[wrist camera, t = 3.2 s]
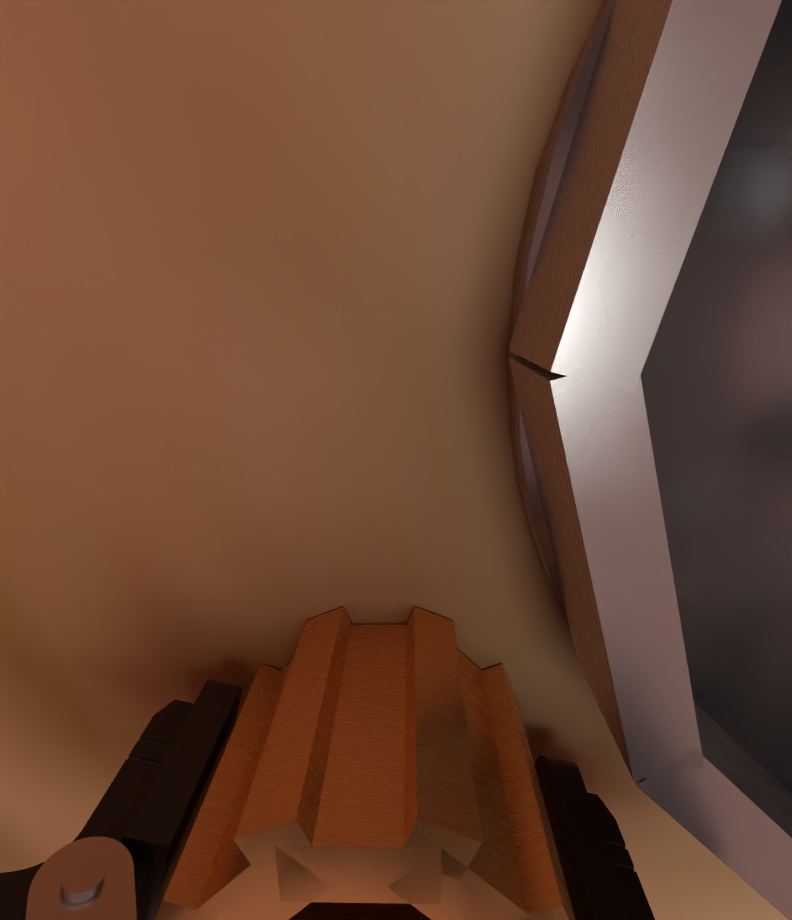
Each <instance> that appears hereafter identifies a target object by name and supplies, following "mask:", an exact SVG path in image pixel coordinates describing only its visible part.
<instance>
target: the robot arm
mask: <svg viewBox="0 0 792 920" xmlns="http://www.w3.org/2000/svg"><path fill="white" fill-rule="evenodd" d="M241 692H242V687H240V686H236V685H231V684H227V683H222V682H218V681H213V680H207V682H206V683H205V685H204V687H203V688H202V690H201V692H200V694H199V696H198V698H197V700H196V701H195V703H194V704H193V703H188V702H184V701H179V700H174V701H172V702H171V703H170V704H168V705H167V706H166V707H164V708H163V709H162V710H160V711H159V712H158V713H156V714H155V715H154V716H153V718H152V719H151V721H150V722H149V724H148V726H147V727H146V729H145V730H144V732H143V734H142V735H141V737H140V740H139V741H138V742H137V743H136V745H135V746H134V748H133V750H132V751H131V753H130V754H129V757H128V759H127V760H126V761H125V762H124V764H123V766H122V767H121V769H120V770H119V772H118V774H117V775H116V777H115V778H114V780H113V782H112V783H111V785H110V786H109V788H108V790H107V791H106V793H105V795H104V796H103V798H102V799H101V801H100V803H99V804H98V806H97V807H96V809H95V811H94V812H93V814H92V815H91V817H90V819H89V820H88V822H87V823H86V825H85V827H84V828H83V830H82V831H81V832H80V834H79V835H78V836H77V838H76V839H75V840H74V841H73V842H72V843H70V844H68V845H66V846H64V847H63V848H61V849H59V850H58V851H57V852H55V853H54V854H53V855H51V856H50V857H49V858H48V859H47V860H46V861H45V862H43V863H41V864H38V865H36V866H34V867H30V868H27V869H24V870H19V871H13V872H6V873H0V920H155V919H156V917H157V914H158V911H159V909H160V906H161V903H162V901H163V898H164V896H165V893H166V891H167V888H168V886H169V884H170V881H171V879H172V876H173V874H174V871H175V869H176V867H177V864H178V862H179V859H180V857H181V855H182V852H183V850H184V847H185V845H186V843H187V840H188V838H189V835H190V833H191V830H192V828H193V826H194V823H195V821H196V818H197V816H198V814H199V811H200V809H201V806H202V804H203V801H204V799H205V797H206V794H207V792H208V789H209V787H210V785H211V782H212V780H213V777H214V775H215V772H216V770H217V768H218V765H219V763H220V760H221V758H222V756H223V753H224V751H225V748H226V746H227V744H228V741H229V739H230V736H231V734H232V731H233V729H234V727H235V723H236V718H237V713H238V708H239V703H240V698H241ZM534 765H535V769H536V773H537V776H538V780H539V784H540V788H541V791H542V795H543V799H544V803H545V806H546V810H547V814H548V818H549V822H550V825H551V829H552V833H553V837H554V840H555V844H556V848H557V852H558V855H559V859H560V863H561V867H562V870H563V874H564V878H565V882H566V885H567V889H568V893H569V897H570V901H571V904H572V908H573V912H574V916H575V919H576V920H655V918H654V916H653V913H652V911H651V908H650V906H649V903H648V901H647V898H646V896H645V893H644V890H643V888H642V885H641V883H640V880H639V878H638V875H637V873H636V872H634V865H633V863H632V860H631V857H630V855H629V852H628V850H626V849H625V842H624V840H623V837H622V835H621V832H620V830H619V827H618V824H617V822H616V819H615V818H614V817H613V815H612V814H611V813H610V811H609V810H608V808H607V807H606V806H605V804H604V803H603V802H602V800H601V799H600V798H599V796H598V795H595V794H591V793H587V791H586V788H585V785H584V782H583V779H582V777H581V774H580V771H579V769H578V767H577V765H576V764H575V763H573V762H568V761H564V760H559V759H555V758H550V757H546V756H539V757H538V758H537V760H536V762H535V764H534Z"/></svg>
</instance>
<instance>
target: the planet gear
mask: <svg viewBox="0 0 792 920" xmlns="http://www.w3.org/2000/svg"><path fill="white" fill-rule="evenodd" d="M155 920H576V919H575V916H574V912H573V908H572V904H571V901H570V897H569V893H568V889H567V885H566V882H565V878H564V874H563V870H562V867H561V863H560V859H559V855H558V852H557V848H556V844H555V840H554V837H553V833H552V829H551V825H550V822H549V818H548V814H547V810H546V806H545V803H544V799H543V795H542V791H541V788H540V784H539V780H538V776H537V773H536V769H535V765H534V761H533V758H532V754H531V750H530V746H529V743H528V739H527V735H526V731H525V727H524V724H523V720H522V716H521V712H520V709H519V705H518V701H517V697H516V694H515V692H514V690H513V688H512V685H511V683H510V681H509V679H508V676H507V674H506V672H505V670H504V667H503V665H502V664H500V665H497V666H494V667H491V668H488V669H485V670H481V669H479V668H478V667H477V666H476V665H475V664H474V663H473V662H471V661H470V660H469V659H468V658H467V657H466V656H465V655H463V654H462V653H461V652H460V651H459V650H458V649H457V646H456V639H455V631H454V624H453V620H450V619H447V618H444V617H442V616H439V615H436V614H433V613H431V612H428V611H425V610H422V609H420V608H417V607H414V609H413V611H412V613H411V615H410V618H409V620H408V622H407V624H352V623H351V621H350V619H349V617H348V615H347V614H346V612H345V610H344V608H343V607H341V608H339V609H336V610H333V611H331V612H328V613H325V614H323V615H320V616H317V617H315V618H312V619H309V620H307V621H306V622H305V625H304V628H303V631H302V634H301V637H300V640H299V643H298V646H297V649H296V652H295V655H294V658H293V659H292V660H291V661H290V662H289V663H288V664H287V665H286V666H285V667H284V668H283V669H281V670H278V669H275V668H273V667H270V666H267V665H264V664H260V666H259V669H258V671H257V674H256V676H255V678H254V681H253V683H252V686H251V688H250V690H249V693H248V695H247V698H246V700H245V702H244V705H243V707H242V710H241V712H240V715H239V717H238V719H237V722H236V724H235V727H234V729H233V731H232V734H231V736H230V739H229V741H228V744H227V746H226V748H225V751H224V753H223V756H222V758H221V760H220V763H219V765H218V768H217V770H216V772H215V775H214V777H213V780H212V782H211V785H210V787H209V789H208V792H207V794H206V797H205V799H204V801H203V804H202V806H201V809H200V811H199V814H198V816H197V818H196V821H195V823H194V826H193V828H192V830H191V833H190V835H189V838H188V840H187V843H186V845H185V847H184V850H183V852H182V855H181V857H180V859H179V862H178V864H177V867H176V869H175V871H174V874H173V876H172V879H171V881H170V884H169V886H168V888H167V891H166V893H165V896H164V898H163V901H162V903H161V906H160V909H159V911H158V914H157V917H156V919H155Z"/></svg>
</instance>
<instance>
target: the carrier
mask: <svg viewBox="0 0 792 920" xmlns="http://www.w3.org/2000/svg"><path fill="white" fill-rule="evenodd" d="M507 353H508V391H509V427H510V433H511V440H512V446H513V452H514V458H515V464H516V470H517V476H518V482H519V488H520V494H521V500H522V503H523V506H524V509H525V513H526V516H527V519H528V522H529V525H530V528H531V532H532V535H533V538H534V541H535V544H536V547H537V551H538V554H539V557H540V560H541V563H542V565H543V568H544V570H545V572H546V574H547V576H548V578H549V580H550V582H551V584H552V586H553V588H554V590H555V592H556V594H557V596H558V598H559V600H560V602H561V604H562V607H563V609H564V611H565V613H566V615H567V617H568V622H569V626H570V631H571V635H572V639H573V644H574V648H575V652H576V657H577V660H578V662H579V664H580V666H581V668H582V670H583V673H584V675H585V677H586V679H587V681H588V683H589V686H590V688H591V690H592V692H593V694H594V696H595V698H596V701H597V703H598V705H599V707H600V709H601V711H602V714H603V716H604V718H605V720H606V722H607V724H608V727H609V729H610V731H611V733H612V735H613V737H614V739H615V742H616V744H617V746H618V748H619V750H620V752H621V755H622V757H623V759H624V761H625V763H626V765H627V768H628V770H629V772H630V774H631V776H632V778H633V780H634V781H635V783H636V785H637V787H639V788H640V789H641V790H642V791H643V792H644V793H645V794H647V795H648V796H649V797H650V798H651V799H652V800H653V801H655V802H656V803H657V804H658V805H659V806H660V807H661V808H662V809H664V810H665V811H666V812H667V813H668V814H669V815H670V816H672V817H673V818H674V819H675V820H676V821H677V822H678V823H680V824H681V825H682V826H683V827H684V828H685V829H686V830H687V831H689V832H690V833H691V834H692V835H693V836H694V837H695V838H697V839H698V840H699V841H700V842H701V843H702V844H703V845H705V846H706V847H707V848H708V849H709V850H710V851H711V852H712V853H714V854H715V855H716V856H717V857H718V858H719V859H720V860H722V861H723V862H724V863H725V864H726V865H727V866H728V867H730V868H731V869H732V870H733V871H734V872H735V873H736V874H737V875H739V876H740V877H741V878H742V879H743V880H744V881H745V882H747V883H748V884H749V885H750V886H751V887H752V888H753V889H755V890H756V891H757V892H758V893H759V894H760V895H761V896H762V897H764V898H765V899H766V900H767V901H768V902H769V903H770V904H772V905H773V906H774V907H775V908H776V909H777V910H778V911H780V912H781V913H782V914H783V915H784V916H785V917H786V918H787V919H789V920H792V0H605V2H604V4H603V6H602V8H601V11H600V13H599V15H598V17H597V19H596V21H595V23H594V25H593V27H592V29H591V31H590V33H589V35H588V37H587V39H586V42H585V44H584V46H583V48H582V50H581V52H580V54H579V56H578V58H577V60H576V62H575V64H574V66H573V69H572V72H571V74H570V77H569V80H568V83H567V86H566V88H565V91H564V94H563V97H562V100H561V103H560V105H559V108H558V111H557V114H556V117H555V120H554V122H553V125H552V128H551V131H550V134H549V136H548V139H547V142H546V145H545V148H544V151H543V153H542V156H541V159H540V162H539V165H538V168H537V172H536V177H535V181H534V185H533V190H532V194H531V198H530V203H529V207H528V212H527V216H526V220H525V225H524V229H523V233H522V238H521V242H520V247H519V251H518V255H517V260H516V268H515V278H514V288H513V297H512V307H511V317H510V326H509V336H508V346H507Z"/></svg>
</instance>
